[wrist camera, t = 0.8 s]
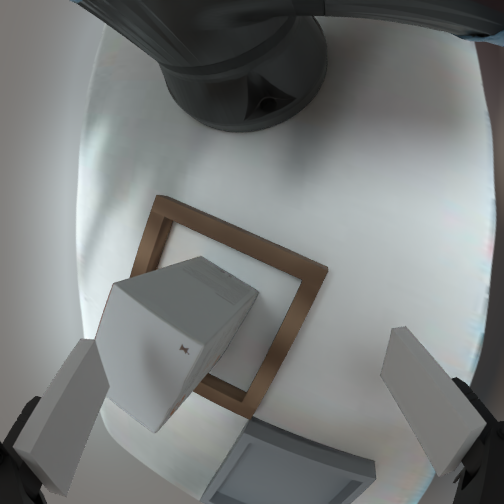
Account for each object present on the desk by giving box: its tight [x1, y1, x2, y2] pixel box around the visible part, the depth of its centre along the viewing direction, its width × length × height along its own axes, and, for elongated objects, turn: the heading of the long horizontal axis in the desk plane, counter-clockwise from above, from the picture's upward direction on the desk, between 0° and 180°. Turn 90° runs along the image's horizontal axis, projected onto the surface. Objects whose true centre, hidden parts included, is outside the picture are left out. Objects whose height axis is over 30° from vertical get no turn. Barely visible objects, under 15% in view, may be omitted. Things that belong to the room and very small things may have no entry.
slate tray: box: [200, 416, 376, 504], centre depth 28 cm, size 15×15×3 cm
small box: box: [95, 256, 259, 433], centre depth 22 cm, size 8×6×13 cm
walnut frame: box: [130, 195, 328, 420], centre depth 28 cm, size 16×16×2 cm
